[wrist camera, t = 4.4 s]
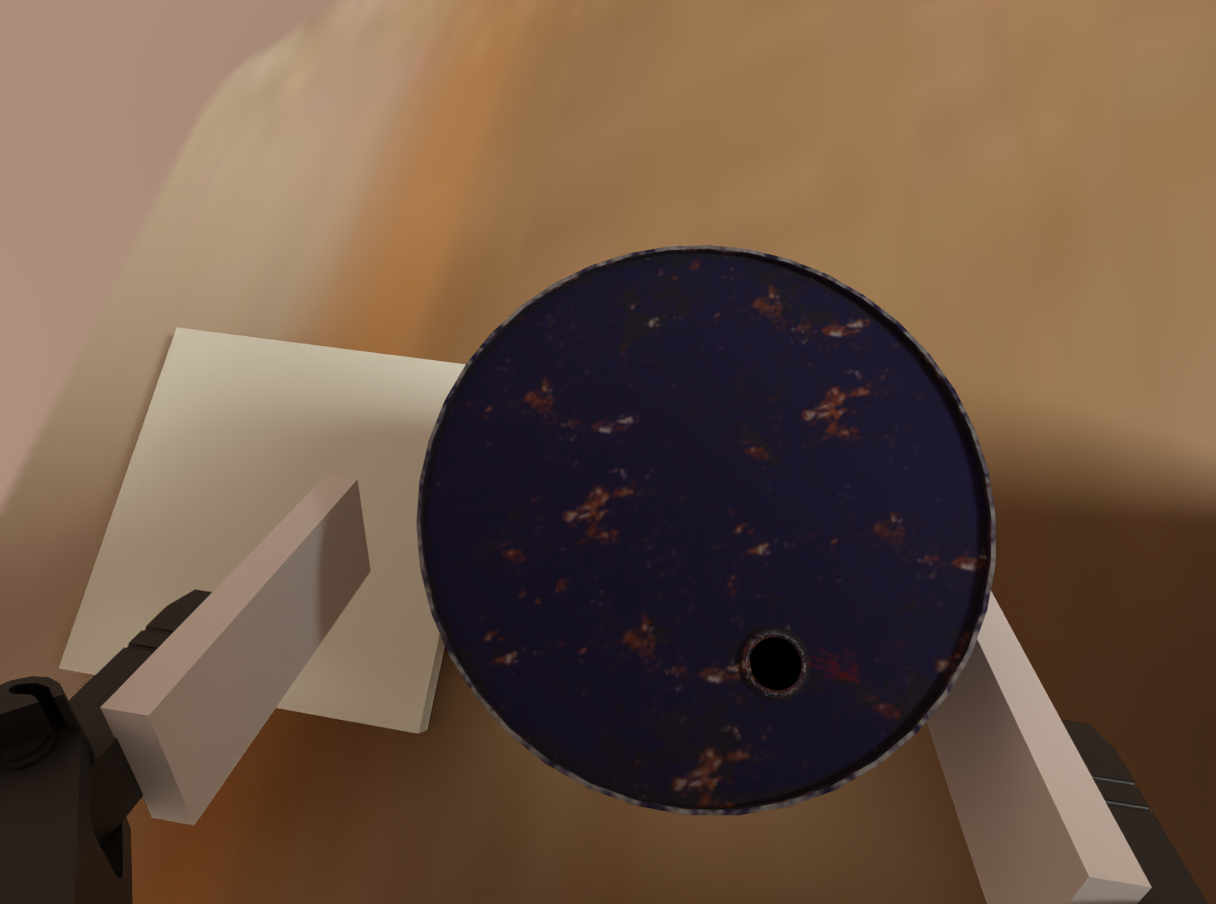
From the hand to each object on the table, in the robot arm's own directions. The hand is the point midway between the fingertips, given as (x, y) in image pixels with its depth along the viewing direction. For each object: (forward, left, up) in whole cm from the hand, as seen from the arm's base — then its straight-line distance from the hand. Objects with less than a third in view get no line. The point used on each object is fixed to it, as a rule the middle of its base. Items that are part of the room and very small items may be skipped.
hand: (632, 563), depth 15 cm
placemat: (+14, -1, -10) cm, 17 cm away
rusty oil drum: (-1, -1, -11) cm, 11 cm away
